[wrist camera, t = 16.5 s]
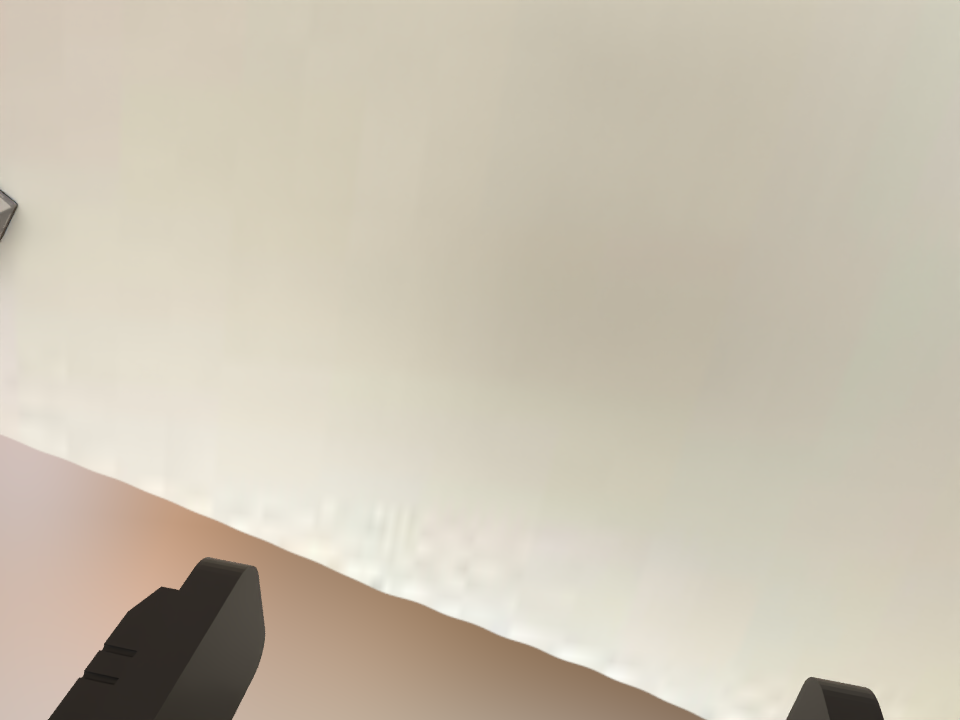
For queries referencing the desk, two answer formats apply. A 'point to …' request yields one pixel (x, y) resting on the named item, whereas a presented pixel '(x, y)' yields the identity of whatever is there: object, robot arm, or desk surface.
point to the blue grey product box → (5, 212)
